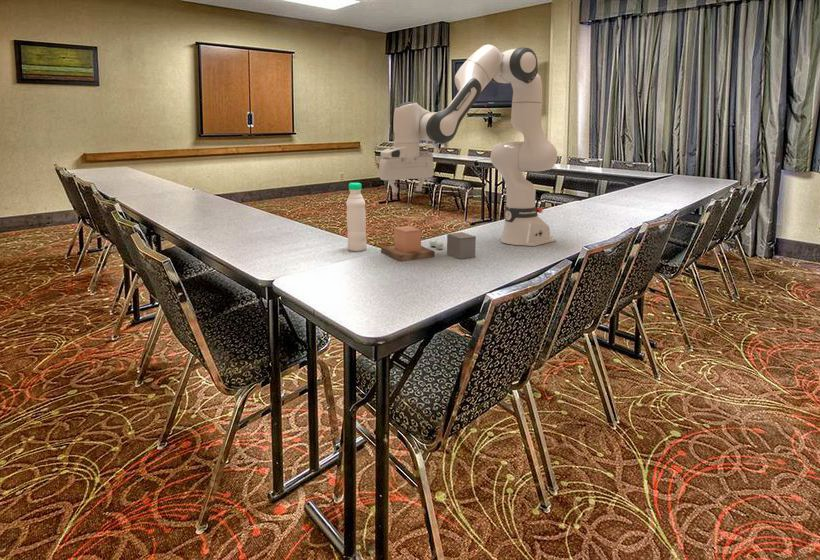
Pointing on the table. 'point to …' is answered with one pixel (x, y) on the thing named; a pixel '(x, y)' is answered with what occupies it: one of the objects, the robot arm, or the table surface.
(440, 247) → the marble
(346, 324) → the table surface
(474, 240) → the charcoal cover
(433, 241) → the marble
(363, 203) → the water bottle
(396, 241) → the terracotta cover
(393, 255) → the walnut board
